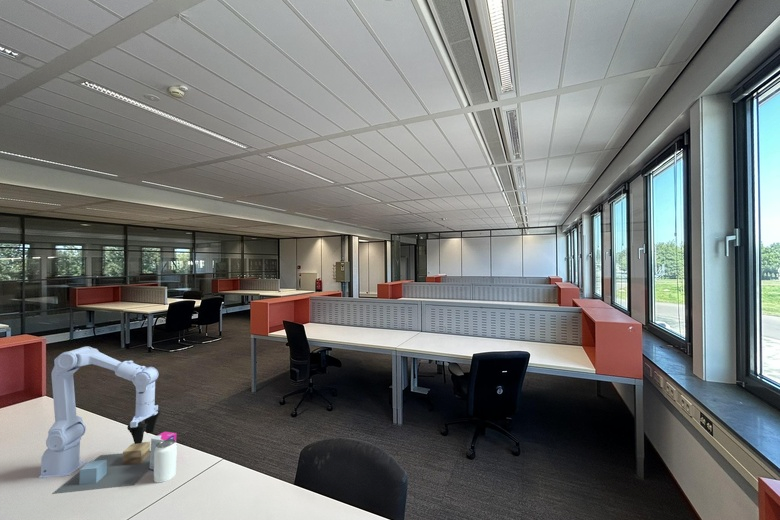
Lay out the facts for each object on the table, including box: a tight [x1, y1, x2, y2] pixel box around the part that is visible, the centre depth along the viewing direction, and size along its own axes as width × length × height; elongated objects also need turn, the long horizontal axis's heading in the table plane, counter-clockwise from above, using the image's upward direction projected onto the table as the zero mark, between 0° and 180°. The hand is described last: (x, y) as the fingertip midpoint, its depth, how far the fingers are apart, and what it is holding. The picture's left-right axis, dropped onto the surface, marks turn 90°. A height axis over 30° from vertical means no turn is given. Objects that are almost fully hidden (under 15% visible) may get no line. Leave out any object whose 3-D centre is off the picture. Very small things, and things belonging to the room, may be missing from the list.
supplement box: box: [149, 431, 178, 471], centre depth 118 cm, size 6×6×12 cm
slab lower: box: [123, 448, 151, 465], centre depth 122 cm, size 6×6×2 cm
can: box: [153, 439, 178, 483], centre depth 112 cm, size 6×6×12 cm
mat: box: [51, 450, 151, 495], centre depth 116 cm, size 24×22×1 cm
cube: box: [79, 460, 107, 485], centre depth 111 cm, size 5×5×5 cm
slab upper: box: [122, 441, 151, 459], centre depth 122 cm, size 6×6×2 cm
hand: (144, 437), depth 120 cm, fingers open, 7 cm apart
